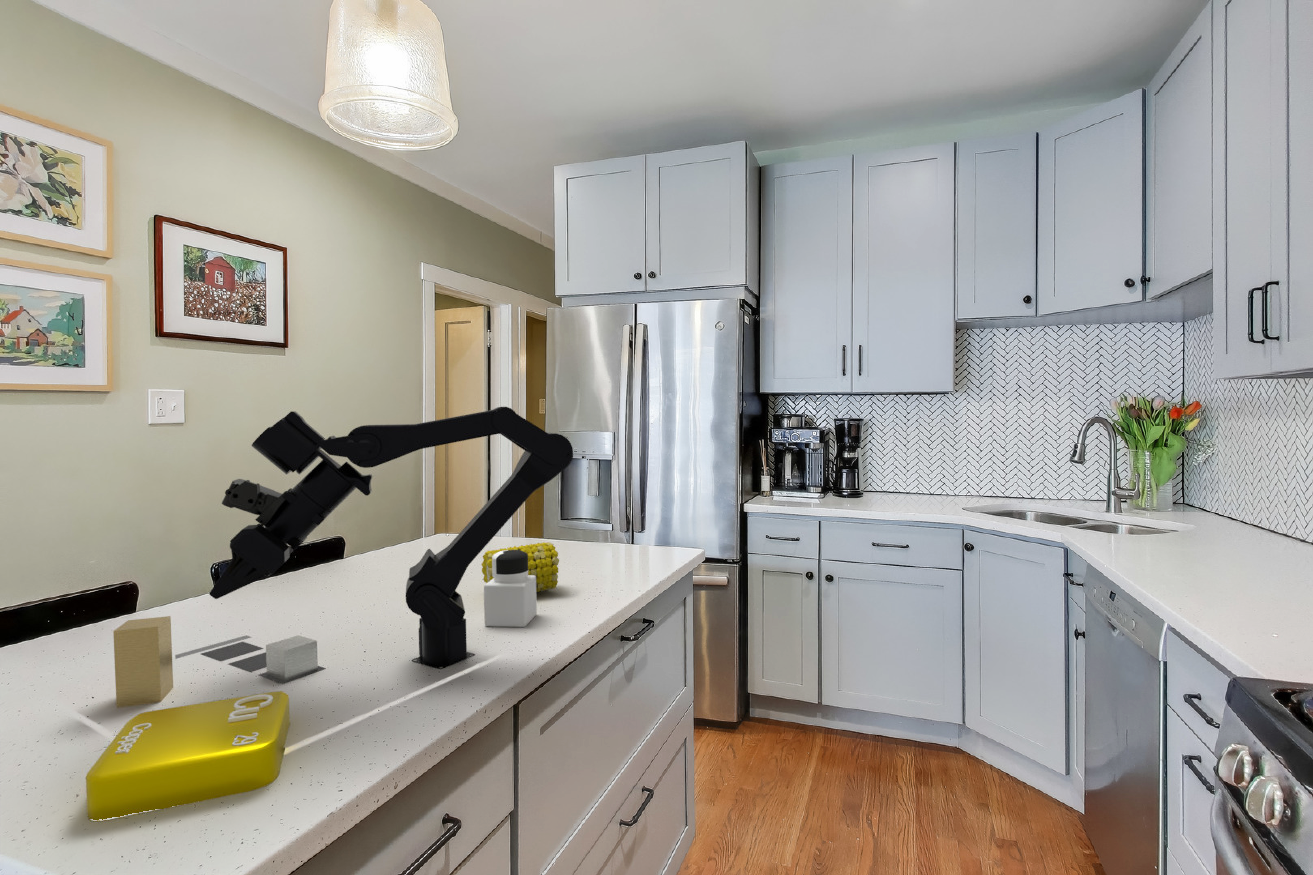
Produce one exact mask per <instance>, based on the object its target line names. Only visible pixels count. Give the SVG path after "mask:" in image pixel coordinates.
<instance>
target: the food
mask: <svg viewBox="0 0 1313 875" xmlns="http://www.w3.org/2000/svg"><path fill="white" fill-rule="evenodd" d="M504 550H521V551H523V552H526V553H527V554H528V575H535V576H536V593H539V592H540V591H546V590H547V591H548V590H552V589H555V588H557V586H558V583H559V581H558V579H559V576H558V575H559V567H558V566H559V563H560V558H558V557H559V552H558V551H557V550H556V546H554V543H552V542H550V541H549V542H541V543H540V542H537V543H534V544H533V543H530V544H525V545H523V544H522V545H519V546H516V545H515V546H513V547H512V546H508V547H507V548H506V547H505V548H499V549H495V550H494V549H492V550H487V551H485V552H484V554H483V556H482V558H483V561H482V563H481V566H482V567H481V573H482V574H483V575H484V576H483V581H484V583H485V584H486V583H488V582H489V581H491V580H492V579H493V578H494V577H493V576H492V556H493V555H494V554H496V553H497V552H500V551H504Z"/></svg>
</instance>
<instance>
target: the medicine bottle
mask: <svg viewBox="0 0 1313 875" xmlns="http://www.w3.org/2000/svg"><path fill="white" fill-rule="evenodd" d="M492 576H493V577H494V578H493V579H492V580H491V581H489V582H488V583H486V582H485V584H484V585H483V606H484V607H483V609H484V610H483V612H484V616H483V617H484V626H485V627H496V628H497V627H505V628H508V627H509V628H511V627H512V628H525V627H526V626H527V625H528V624H530V622H531V621H533V619H534V617H535V616H536V615H537V614H538V609H537V608H538V607H537V605H538V604H537V591H536V576H535V575H528V554H527V553H526V552H523V551H521V550H504V551H500V552H497V553H496V554H494V555H493V556H492Z"/></svg>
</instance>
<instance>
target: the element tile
mask: <svg viewBox="0 0 1313 875" xmlns="http://www.w3.org/2000/svg"><path fill="white" fill-rule="evenodd" d="M290 718H291V717H290V697H289V694H288V693H287V692H284V691H281V690H278V691H272V692H271V691H270V692H264V693H263V692H262V693H259V694H258V693H257V694H252V695H251V694H250V695H244V696H239V697H234V698H233V697H232V698H225V699H220V700H219V699H218V700H213V701H206V702H201V703H194V704H187V705H182V706H175V707H174V706H173V707H168V708H163V709H156V710H150V711H145V712H141V713H139V714H136V716H133V717H132V718H131V719H129V720H128V721H127V722H126V723H125V724H124V726H123V727H122V728H121V729H120V731H119V732H118V733H117V734H116V736H115V737H114V739H113V740H112V741H111V742H110V744H108V746H107V747H106V749H105V750H104V751H103V752H102V753H101V755H100V756H99V757H98V759H97V760H96V761H95V763H94V764H93V765H92V767H91V768H90V769H89V771H88V772H86V776H85V788H86V789H85V790H86V791H85V792H86V810H87V811H86V812H87V813H86V814H87V815H88V816H87V818H88V817H89V819H93V820H99V819H102V820H103V819H107V818H112V817H120V816H124V815H128V814H132V813H139V812H143V811H149V810H155V809H162V810H165V809H164V808H166V809H170V807H171V808H173V807H172V806H176V807H178V806H177V805H181V806H185V805H184V804H186V805H190V804H194V802H195V803H199V802H204V800H205V801H210V800H214V799H218V798H224V797H228V796H234V795H238V794H242V793H247V792H252V791H256V790H259V789H261V788H264V787H266V786H268V785H270V784H271V783H273V782H274V781H276V780H277V779H278V777H279V775H280V771H281V768H282V764H283V760H284V755H285V750H286V747H285V744H286V740H287V737H288V732H289V728H290V724H291V720H290ZM198 801H199V802H198ZM89 819H88V820H89Z"/></svg>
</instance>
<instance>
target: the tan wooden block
mask: <svg viewBox="0 0 1313 875" xmlns="http://www.w3.org/2000/svg"><path fill="white" fill-rule="evenodd" d="M171 620H172V618H171V615H167V616H166V615H165V616H158V617H156V616H155V617H149V618H148V617H147V618H140V619H139V618H137V619H127V620H126V621H125V622H124V623H122V624H121V625H120V626H119V627H117V628H116V629H114V630H113V631H112V632H113V634H112V635H113V653H114V654H113V655H114V656H113V657H114V678H115V697H116V698H115V700H116V701H115V703H116V708H117V709H119V708H126V707H132V706H140V705H147V704H153V703H162V701H163V700H164V699H165V698H166V697H167V696H168V694H170V692H171V691H173V689H174V673H173V667H174V666H173V646H172V645H173V644H172V621H171Z"/></svg>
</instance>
